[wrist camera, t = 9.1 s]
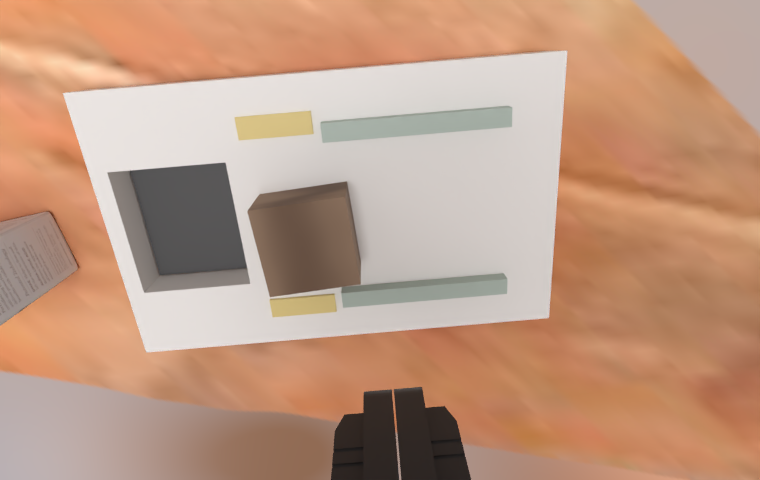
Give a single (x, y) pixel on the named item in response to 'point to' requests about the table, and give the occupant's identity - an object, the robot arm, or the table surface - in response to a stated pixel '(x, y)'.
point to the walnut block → (306, 239)
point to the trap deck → (326, 166)
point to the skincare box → (31, 261)
